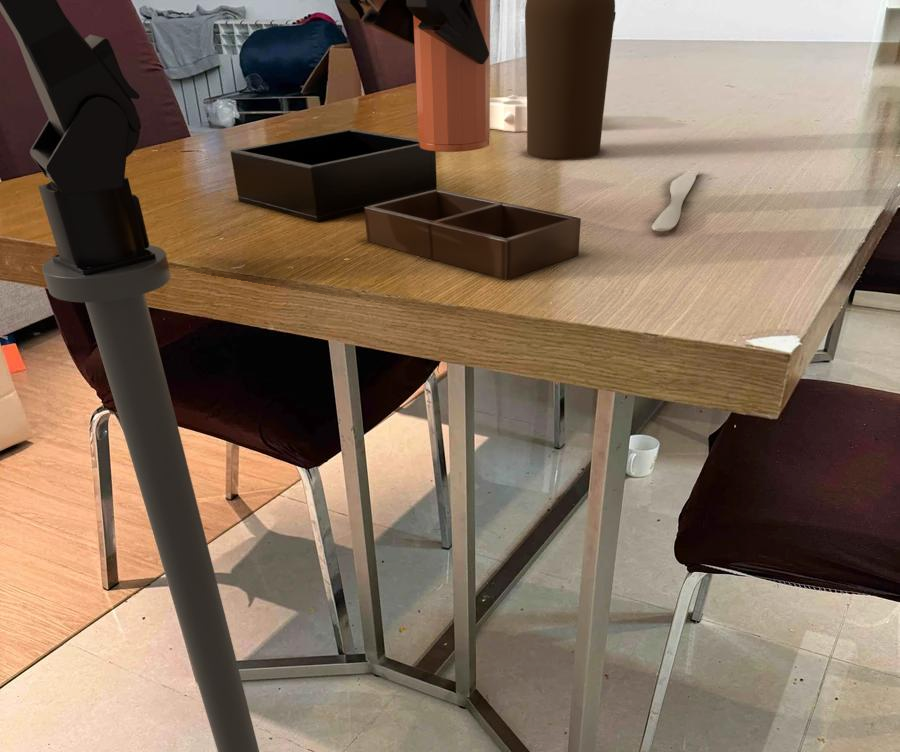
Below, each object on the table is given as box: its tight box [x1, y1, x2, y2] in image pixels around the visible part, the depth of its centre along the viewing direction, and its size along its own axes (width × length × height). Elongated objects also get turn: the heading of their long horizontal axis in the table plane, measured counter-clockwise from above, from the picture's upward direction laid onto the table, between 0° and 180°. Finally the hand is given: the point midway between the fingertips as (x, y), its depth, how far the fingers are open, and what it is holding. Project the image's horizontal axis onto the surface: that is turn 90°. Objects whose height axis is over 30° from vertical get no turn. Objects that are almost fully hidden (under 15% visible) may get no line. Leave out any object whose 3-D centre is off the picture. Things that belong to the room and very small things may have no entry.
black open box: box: [230, 128, 438, 223], centre depth 92 cm, size 17×15×5 cm
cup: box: [413, 0, 491, 153], centre depth 77 cm, size 7×7×12 cm
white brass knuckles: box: [490, 94, 527, 133], centre depth 125 cm, size 3×18×15 cm
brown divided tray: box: [364, 188, 582, 280], centre depth 75 cm, size 9×18×3 cm, turn 44°
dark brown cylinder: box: [524, 0, 617, 160], centre depth 101 cm, size 11×11×25 cm
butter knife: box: [651, 169, 700, 232], centre depth 87 cm, size 1×27×3 cm
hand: (465, 57), depth 77 cm, fingers closed on cup, 7 cm apart
